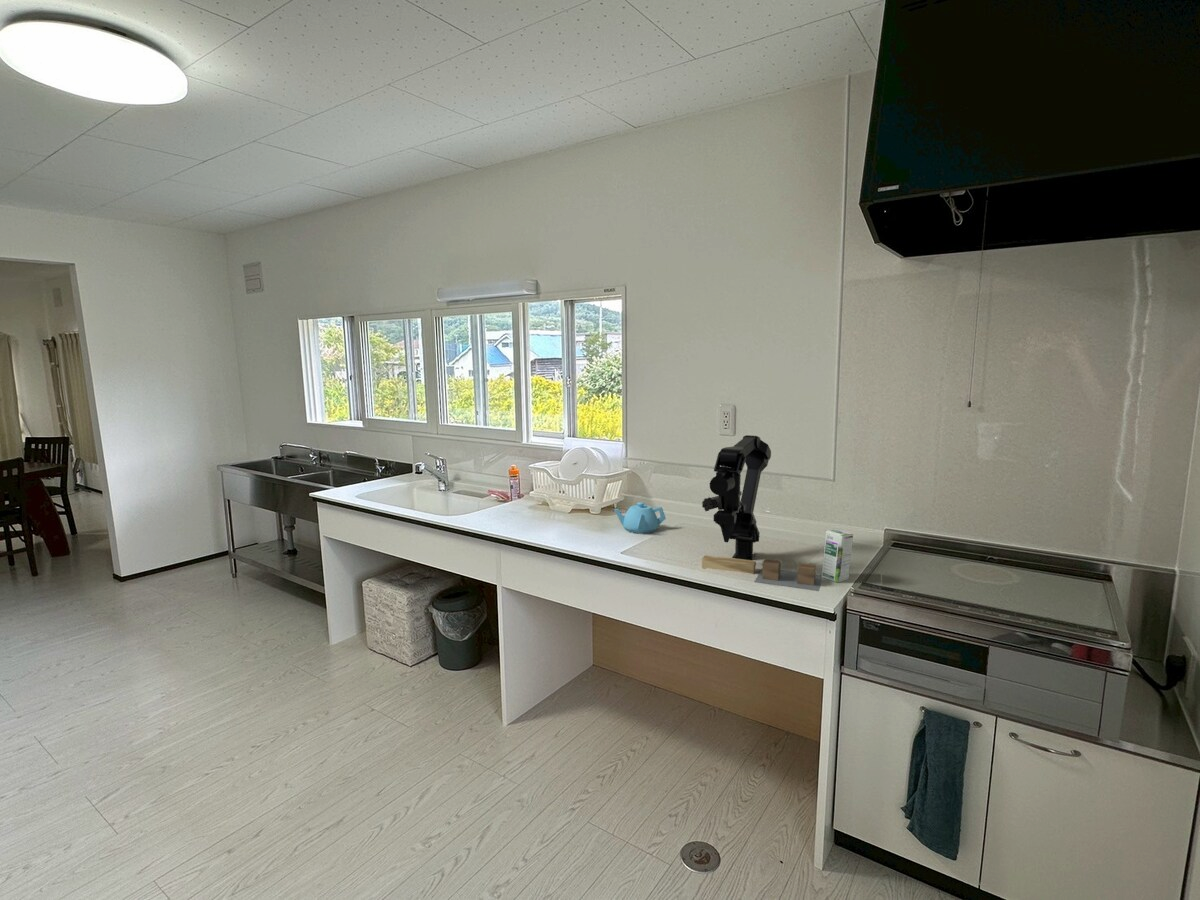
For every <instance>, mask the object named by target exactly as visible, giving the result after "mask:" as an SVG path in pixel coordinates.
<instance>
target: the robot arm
mask: <svg viewBox="0 0 1200 900" xmlns="http://www.w3.org/2000/svg"><path fill="white" fill-rule="evenodd" d="M771 457H772V451H771V448H770V446H769V444H768V443H766V442H765V441H763V440H762V439H761V437H760V436H758V435H749V434H747V435H743V437H742V439H740V440H739V441H738V442H736V443H735V444H734V445H733V446H726V447H723V448H721V449H720V451H718V454H717V456H716V461H715V464H714V467H713V472H715V476H713V477H712V478H711V479H710V481H709V489H710V491H711V492H712V493H713V494H714V495H715V496H713V497H710V496H708V497H707V498H706V497H705V498H704V499H703V500H702V502H701V504H702V505H701V507H702V508H703V510H704V511H705V512H709V511H710V510H713V509H714V510H715V509H717V510H718V511H716V512H715V513H714V514H713V522H714V523H715V524H716V525H718V526H719V527H720V530H721V534H722V538H723V542H725V543H729V541H730V540H735V541H734V542H735V550H734V551H735V552H734V554H733V555H732V557H731V558H735V559H744V560H752V561H754V558H755V557H756V553H754V543H757V542H760V534H761V533H760V531H759V529H758V526H757V519H756V517H755V515H754V510H755V509H754V508H755V504H756V499H757V494H758V489H759V483H760V480H761V473H762V472H763V471H764V470H765V469H766V468H767V467H768V465H769V461H770V460H771ZM745 465H746V467H747V468H746V473H745V479H744V483H743V484H744V485H743V487H742V491H741V479H742V477H741V473H742V471H743V469H744V467H745Z"/></svg>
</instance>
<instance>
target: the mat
mask: <svg viewBox="0 0 1200 900" xmlns="http://www.w3.org/2000/svg"><path fill="white" fill-rule="evenodd" d="M762 575H763V567H761V569H760V571H759V573H758V574H757V577H755V580H754V583H755V584H756V583H757V584H765V585H770V586H772V585H773V586H778V587H784V588H785V587H786V588H793V589H799V590H800V589H801V590H807V591H816V592H819V591H820V589H821V584H822V581H823V578H822V574H816V573H815V582H814V586H812V585H804V584H797V579H798V571H792V570H791V571H790V570H784V569H780V577H779V580H778V581H775V580H767V579H762Z"/></svg>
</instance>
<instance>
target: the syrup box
mask: <svg viewBox="0 0 1200 900" xmlns="http://www.w3.org/2000/svg"><path fill="white" fill-rule="evenodd" d="M824 537H825V539H824V549H823V550H824V551H823V558H822V559H823V560H822V569H821V575H822V579H827V580H829V581H831V582H834V583H841V582H843V581H847V580H849V575H850V568H851V559H852V548H853V539H854V533H853V532H852V533H851V532H848V531H844V530H841V529H838V528H834V529H832V528H831V529H829V530H826V532H825V536H824Z"/></svg>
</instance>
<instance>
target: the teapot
mask: <svg viewBox="0 0 1200 900" xmlns="http://www.w3.org/2000/svg"><path fill="white" fill-rule="evenodd" d="M613 510H614V512H615V514H616V516H617V517H618V520H619V522H620V523H621V526H623V527H622V528H624V530H625V531H626V530H627V531H626V532H628V531H629V533H631V532H633V533H632V534H639V533H643V534H650V532H651V533H653V531H654V532H656V530H657V529H658V528H659V525H661V524H662V523H663V522H664V521H665V520H666V519H667V518H666V515H665V512H664V509H663V506H659V507H653V508H652V506H650V505H646V504H645V502H641V501H639V502H636V504H634V505H631V506H629V507H628V510H627V511H626V513H625V515H623V514H622V512H621V511H620V510H619V508H614V509H613ZM656 512H659V517H658V516H657V514H656Z"/></svg>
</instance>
